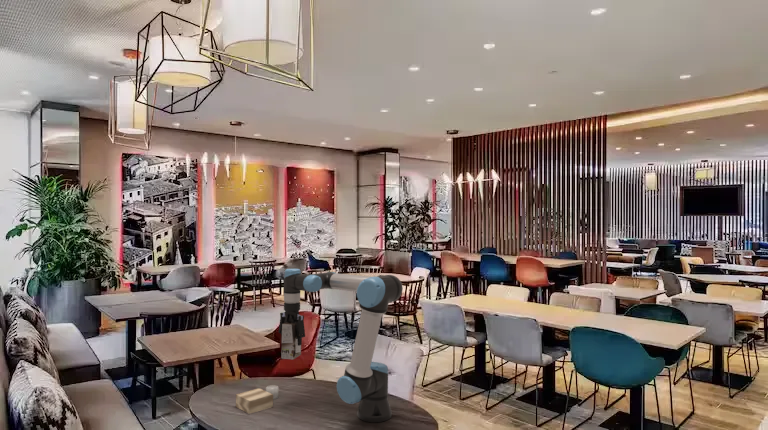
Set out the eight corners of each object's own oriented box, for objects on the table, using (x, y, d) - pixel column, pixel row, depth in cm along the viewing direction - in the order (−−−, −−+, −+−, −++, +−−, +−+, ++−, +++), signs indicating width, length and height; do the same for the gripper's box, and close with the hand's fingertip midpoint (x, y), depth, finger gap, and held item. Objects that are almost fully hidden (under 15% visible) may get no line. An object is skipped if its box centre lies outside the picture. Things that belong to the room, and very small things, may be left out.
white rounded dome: (280, 397, 237) (281, 386, 237) (271, 400, 232) (271, 390, 232) (272, 394, 241) (272, 384, 241) (263, 397, 236) (263, 387, 236)
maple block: (272, 407, 224) (273, 394, 224) (249, 414, 216) (249, 401, 216) (258, 400, 233) (258, 388, 233) (235, 407, 224) (236, 394, 224)
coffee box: (294, 359, 222) (294, 324, 222) (280, 358, 223) (281, 323, 224) (301, 354, 231) (302, 320, 231) (288, 353, 232) (289, 319, 232)
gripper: (313, 303, 224) (313, 352, 224) (283, 298, 237) (282, 345, 236) (301, 305, 218) (301, 356, 218) (270, 300, 231) (270, 348, 230)
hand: (291, 350), depth 227 cm, fingers closed on coffee box, 8 cm apart
